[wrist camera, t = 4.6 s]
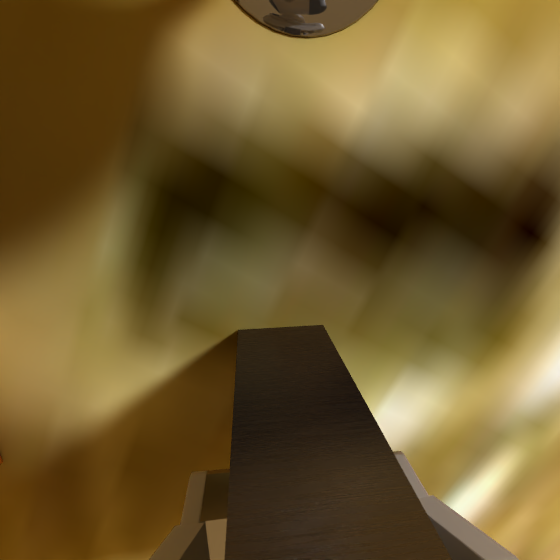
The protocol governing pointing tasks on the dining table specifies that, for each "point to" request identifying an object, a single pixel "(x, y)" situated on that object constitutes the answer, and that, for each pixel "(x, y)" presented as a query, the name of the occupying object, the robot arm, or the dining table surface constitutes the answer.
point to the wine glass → (307, 15)
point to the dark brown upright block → (314, 461)
